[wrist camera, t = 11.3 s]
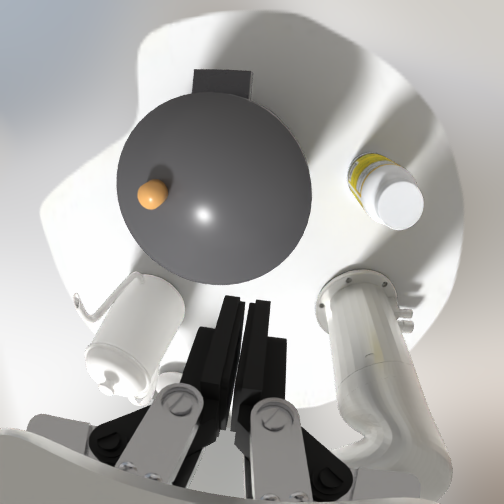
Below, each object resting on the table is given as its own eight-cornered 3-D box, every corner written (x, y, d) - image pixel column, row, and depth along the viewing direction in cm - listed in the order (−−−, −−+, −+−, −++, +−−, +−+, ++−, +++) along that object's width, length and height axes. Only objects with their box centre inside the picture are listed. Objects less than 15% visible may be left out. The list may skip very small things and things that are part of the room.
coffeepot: (176, 225, 39) (109, 315, 23) (195, 355, 51) (167, 444, 35) (108, 224, 40) (28, 299, 24) (141, 347, 52) (103, 427, 36)
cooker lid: (324, 104, 20) (328, 103, 18) (293, 288, 28) (293, 307, 26) (125, 94, 21) (107, 95, 19) (132, 260, 29) (118, 275, 27)
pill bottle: (396, 195, 34) (432, 231, 24) (351, 204, 36) (374, 244, 26) (389, 147, 31) (428, 168, 22) (341, 156, 33) (364, 179, 23)
